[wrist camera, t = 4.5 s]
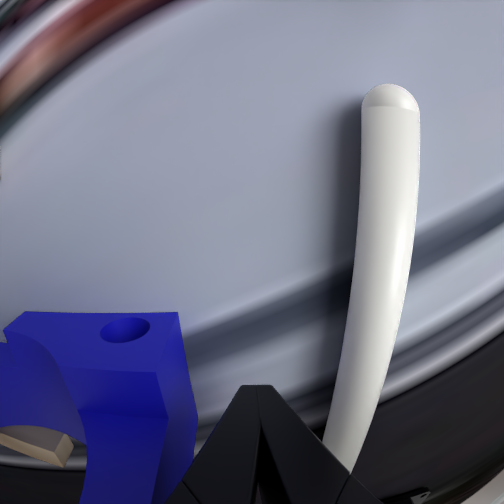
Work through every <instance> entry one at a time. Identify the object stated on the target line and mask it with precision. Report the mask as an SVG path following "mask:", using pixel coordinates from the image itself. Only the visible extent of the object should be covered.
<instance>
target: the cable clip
mask: <svg viewBox="0 0 504 504" xmlns="http://www.w3.org/2000/svg"><path fill="white" fill-rule="evenodd" d="M3 331H4V334H5V337H6V340H7V342H8V343H3V342H0V427H6V426H15V425H29V426H39V427H45V428H49V429H53V430H56V431H59V432H62V433H64V434H67V435H69V436H71V437H73V438H75V439H77V440H78V441H80V442H82V443H83V444H85V445H86V446H87V465H86V475H85V481H84V487H83V491H82V494H81V498H80V501H79V504H163V503H164V502H165V500H166V499H167V498H168V497H169V495H170V494H171V493H172V491H173V490H174V488H175V487H176V485H177V484H178V482H179V481H181V478H182V477H183V475H184V474H185V472H186V471H187V469H188V468H189V467H190V465H191V464H192V462H193V454H194V446H195V438H196V430H197V422H198V415H197V411H196V406H195V401H194V397H193V392H192V387H191V382H190V378H189V373H188V367H187V362H186V357H185V351H184V346H183V340H182V335H181V329H180V323H179V316H178V312H166V313H56V312H28V311H25V312H24V313H23V314H21V315H20V316H19V317H18V318H17V319H15V320H14V321H13V322H12V323H11V324H9V325H8V326H7V327H6V328H5V329H4V330H3Z"/></svg>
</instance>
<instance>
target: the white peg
mask: <svg viewBox="0 0 504 504" xmlns="http://www.w3.org/2000/svg"><path fill="white" fill-rule="evenodd" d="M419 166H420V112H419V107H418V104H417V102H416V101H415V99H414V97H413V96H412V95H411V94H410V93H409V92H408V91H407V90H406V89H404V88H402V87H400V86H398V85H395V84H381V85H378V86H375V87H374V88H372V89H371V90H370V91H369V92H368V93H367V94H366V96H365V97H364V99H363V103H362V109H361V176H360V197H359V213H358V226H357V238H356V249H355V259H354V268H353V277H352V285H351V293H350V301H349V308H348V315H347V322H346V328H345V334H344V340H343V346H342V352H341V358H340V363H339V368H338V374H337V379H336V384H335V389H334V393H333V398H332V403H331V407H330V411H329V416H328V420H327V424H326V428H325V432H324V436H323V440H322V443H323V444H324V445H325V446H326V447H327V448H328V449H329V450H330V451H331V453H332V454H333V455H334V456H335V457H336V458H337V459H338V460H339V461H340V462H341V463H342V464H343V465H344V466H345V467H346V468H347V469H348V470H349V471H350V474H351V472H352V469H353V467H354V465H355V462H356V460H357V457H358V455H359V452H360V450H361V447H362V445H363V442H364V440H365V437H366V434H367V432H368V429H369V426H370V423H371V421H372V418H373V415H374V412H375V409H376V406H377V403H378V400H379V397H380V393H381V390H382V387H383V384H384V380H385V377H386V373H387V370H388V366H389V363H390V359H391V355H392V351H393V347H394V343H395V339H396V335H397V331H398V326H399V322H400V317H401V313H402V308H403V303H404V298H405V292H406V287H407V281H408V275H409V269H410V263H411V256H412V248H413V241H414V232H415V223H416V213H417V201H418V187H419Z"/></svg>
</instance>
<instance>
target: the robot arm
mask: <svg viewBox="0 0 504 504" xmlns="http://www.w3.org/2000/svg"><path fill="white" fill-rule="evenodd" d="M257 484H259V489H260V495H261V500H262V504H421V503H422V502H423V501H424V500H425V499H426V497H427V496H428V495H429V494H430V491H429V489H428V488H427V487H426V488H423V489H420V490H417V491H414V492H411V493H408V494H405V495H402V496H398V497H395V498H392V499H388V500H385V501H380V500H379V499H378V498H376V497H375V496H374V495H373V494H372V493H371V492H370V491H369V490H368V489H367V488H366V487H365V486H363V485H362V484H361V483H360V482H359V480H358V479H357V478H356V477H355V476H354V475H352V474H351V475H350V471H349V470H348V469H347V468H346V467H345V466H344V465H343V464H342V463H341V462H340V461H339V460H338V459H337V458H336V457H335V456H334V455H333V454H332V453H331V451H330V450H329V449H328V448H327V447H326V446H325V445H324V444H323V443H322V442H321V441H320V440H319V438H318V437H317V436H316V435H315V434H314V433H313V432H312V431H311V430H310V429H309V427H308V426H307V425H306V424H305V423H304V422H303V421H302V420H301V418H300V417H299V416H298V415H297V414H296V413H295V412H294V410H293V409H292V408H291V407H290V406H289V405H288V404H287V402H286V401H285V400H284V399H283V398H282V397H281V395H280V394H279V393H278V392H277V391H276V390H275V388H274V387H273V386H272V385H242V386H240V388H239V389H238V391H237V393H236V394H235V396H234V398H233V399H232V401H231V402H230V404H229V406H228V407H227V409H226V411H225V412H224V414H223V415H222V417H221V419H220V420H219V422H218V423H217V425H216V427H215V428H214V430H213V431H212V433H211V434H210V436H209V438H208V439H207V441H206V442H205V444H204V445H203V447H202V448H201V450H200V451H199V453H198V454H197V456H196V457H195V459H194V461H193V462H192V464H191V465H190V467H189V468H188V469H187V471H186V472H185V474H184V475H183V477H182V478H181V481H179V482H178V484H177V485H176V487H175V488H174V490H173V491H172V493H171V494H170V495H169V497H168V498H167V499H166V500H165V502H164V503H163V504H255V501H256V493H257Z"/></svg>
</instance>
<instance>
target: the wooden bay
mask: <svg viewBox="0 0 504 504" xmlns="http://www.w3.org/2000/svg"><path fill="white" fill-rule="evenodd" d="M0 444H2V445H4V446H6V447H9V448H11V449H13V450H16V451H18V452H21V453H23V454H26V455H28V456H31V457H34V458H36V459H39V460H42V461H45V462H48V463H51V464H54V465H57V466H60V467H63V468H64V467H65V465H66V462H67V460H68V458H69V456H70V454H71V452H72V449H73V447H74V446H73V444H72V442H71V440H70V438H69V436H68V435H67V434H64V433H62V432H59V431H56V430H53V429H49V428H45V427H39V426H29V425H15V426H6V427H0Z"/></svg>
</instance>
